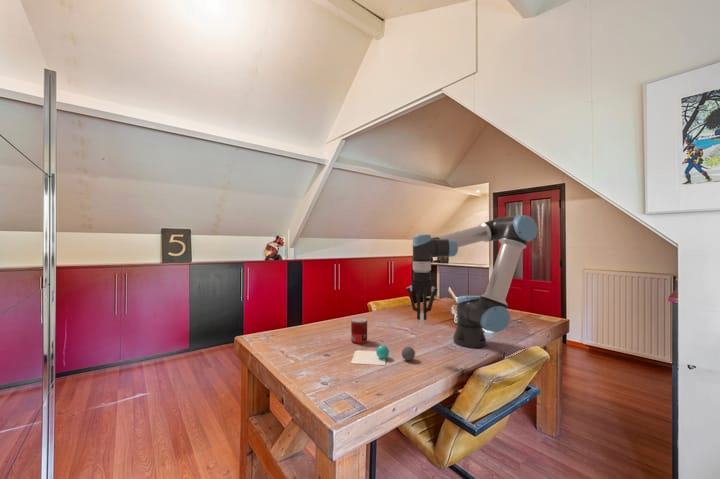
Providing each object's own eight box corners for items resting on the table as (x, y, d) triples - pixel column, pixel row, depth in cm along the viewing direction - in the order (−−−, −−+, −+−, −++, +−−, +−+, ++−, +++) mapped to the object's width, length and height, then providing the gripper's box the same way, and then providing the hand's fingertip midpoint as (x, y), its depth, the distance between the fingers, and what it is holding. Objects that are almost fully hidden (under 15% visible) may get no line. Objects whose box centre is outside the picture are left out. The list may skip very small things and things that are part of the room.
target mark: (386, 352, 133) (386, 351, 133) (385, 365, 119) (385, 365, 119) (355, 350, 135) (355, 350, 135) (350, 363, 121) (350, 363, 121)
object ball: (386, 341, 129) (374, 345, 130) (385, 346, 123) (373, 350, 124) (391, 353, 129) (379, 357, 129) (390, 358, 123) (378, 362, 124)
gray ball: (403, 343, 127) (399, 355, 128) (404, 348, 122) (400, 360, 122) (415, 346, 127) (412, 358, 127) (417, 352, 121) (413, 364, 122)
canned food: (365, 345, 142) (365, 322, 142) (349, 343, 144) (349, 321, 144) (368, 339, 150) (368, 318, 150) (353, 338, 151) (353, 317, 151)
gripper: (406, 272, 121) (406, 329, 121) (438, 272, 120) (438, 330, 120) (405, 270, 129) (405, 324, 129) (436, 270, 127) (436, 325, 127)
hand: (421, 327), depth 124 cm, fingers closed
